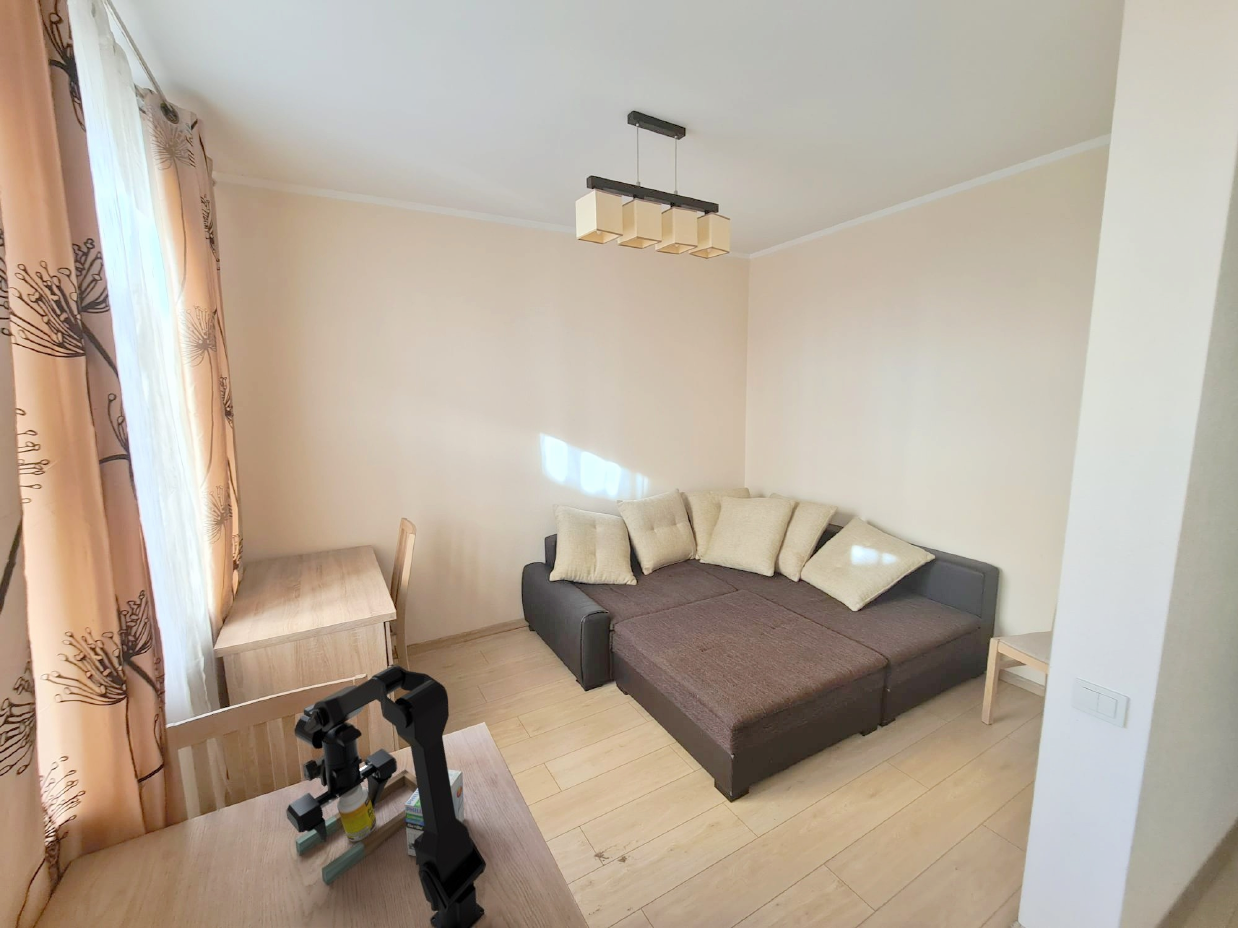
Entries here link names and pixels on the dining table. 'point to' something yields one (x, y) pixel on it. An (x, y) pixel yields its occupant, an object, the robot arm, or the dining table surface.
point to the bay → (366, 844)
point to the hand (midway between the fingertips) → (349, 824)
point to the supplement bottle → (357, 813)
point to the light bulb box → (415, 813)
